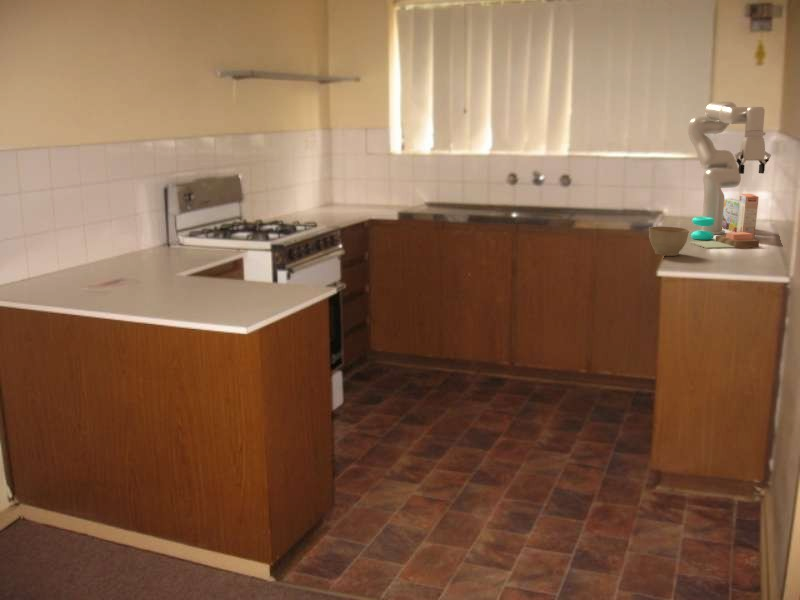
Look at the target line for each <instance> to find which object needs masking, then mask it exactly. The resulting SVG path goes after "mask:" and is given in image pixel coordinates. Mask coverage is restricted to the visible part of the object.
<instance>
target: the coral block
mask: <svg viewBox="0 0 800 600" xmlns="http://www.w3.org/2000/svg"><path fill="white" fill-rule="evenodd" d="M725 236H726V237H727V238H730V239H752V234H750V233H747V232H734V231H732V232H726V235H725Z"/></svg>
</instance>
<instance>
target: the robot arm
mask: <svg viewBox="0 0 800 600" xmlns="http://www.w3.org/2000/svg"><path fill="white" fill-rule="evenodd" d="M765 110H766V109H765V107H763V106H747V107H746V106H737V105H736V104H735V103H734V102H732V101H713V102H712V101H711V102H710V103H708V104H707V106H706V107H705V110H704V113H705V116H696V117H693V118H691V119H690V121H689V122H688V127H687V132H688V138H689V140H690V141H691V143H692V145H693V147H694V148H695V151H696V154H697V157H698V159H699V162H700V165H701V168H703V169H705V172H704V173H703V178H702V181H703V204H702V205H703V207H702V216H701V217H710V218H713V219H714V220H715V222H714V224H713V225H711V226H701V228H700V229H697V231H709V232H711V233H712V234H713V235H725V234H726V231H725V229H723V228H722V223H723V212H724V199H726V198H725V194H724V191H722V189H724V188H727V189H728V188H729V189H730V188H736V187H738V186H739V185H740V183H741V180H742V175H743V174H745V163H746V161H758V162H759V163H760V164H759V165H758V174H764V173H765V169H766V165H767V163H768V162H769V161H770V158H771V157H772V154H770V153H769V152H767V151H766V144H765V143H766V142H765V138H764V136H766V132H764V126H765ZM730 125H745V127H744V128H745V129H744V137H743V138H742V140H741V144H740V149H739V152H737V153H736V154H734V153H732V152H731V151H730V150H725V149H722V150H721V149H716V148H715V145H714V142H713V141H712V139H710V137H708V136H707V135H708V134H709V135H710V134H711V135H717V134H722V133H723V132H725V130H726V129H727V128H728V127H729V126H730Z"/></svg>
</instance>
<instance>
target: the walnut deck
mask: <svg viewBox="0 0 800 600" xmlns="http://www.w3.org/2000/svg"><path fill="white" fill-rule="evenodd" d="M715 241H717V242H721V243H724V244H728V245H731V246H734V247H735V248H734V249H748V248H747V247H758V248H759V245H760V241H759V240H757V239H755V238H754V239H730V238H727V237H726V235H716V236H715Z"/></svg>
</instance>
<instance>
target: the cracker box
mask: <svg viewBox="0 0 800 600" xmlns="http://www.w3.org/2000/svg"><path fill="white" fill-rule="evenodd" d="M759 198H760V197H759V196H757V195H754V194H752V193H740V194H739V200H740V201H739V212H738V222H737V232H747V233H750V234H752V239H754V240H755V234H756V228H757V227H756V226H757V225H756V224H757V216H758V208H759Z"/></svg>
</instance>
